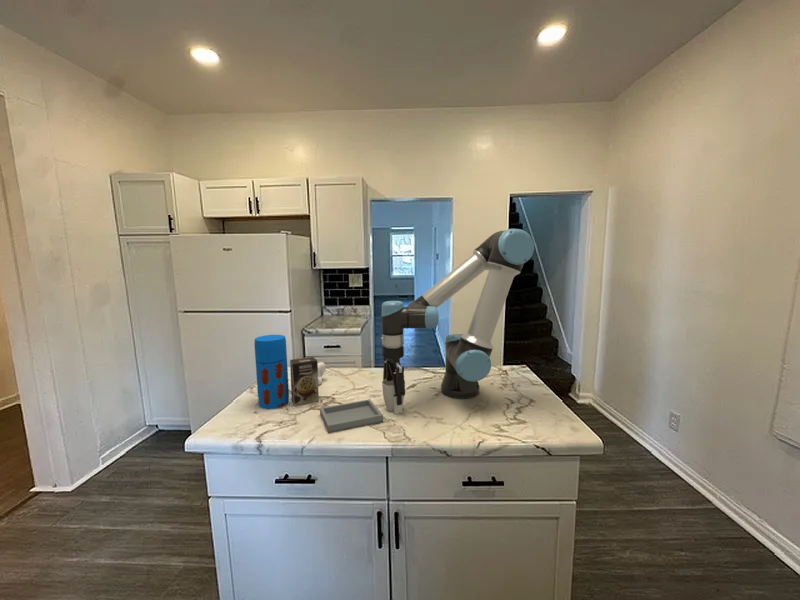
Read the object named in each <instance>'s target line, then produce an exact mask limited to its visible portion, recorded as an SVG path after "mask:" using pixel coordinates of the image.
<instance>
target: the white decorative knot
mask: <svg viewBox="0 0 800 600" xmlns="http://www.w3.org/2000/svg"><path fill="white" fill-rule="evenodd" d="M317 363H318V386H320V385H321V384H322V382H323V379H322V377H323V375H324V374H325V372H326V369H327V366H326V363H324V362H322V361H321V362H317Z"/></svg>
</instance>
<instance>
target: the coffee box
mask: <svg viewBox="0 0 800 600" xmlns="http://www.w3.org/2000/svg"><path fill="white" fill-rule="evenodd" d="M289 362H290V363H289V365H290V366H289V367H290V390H291V392H290V393H291V394H290V395H291V402H292V404H293V406H294V407H299V406H304V405H308V404H314V403H315V404H316V403H318V402H320V398H319V396H320V395H319V393H320V392H319V385H318V363H319V362H318V360H317V359H316V357H315V356H311V357H310V356H309V357H302V358H296V359H295V358H294V359H290V360H289Z"/></svg>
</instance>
